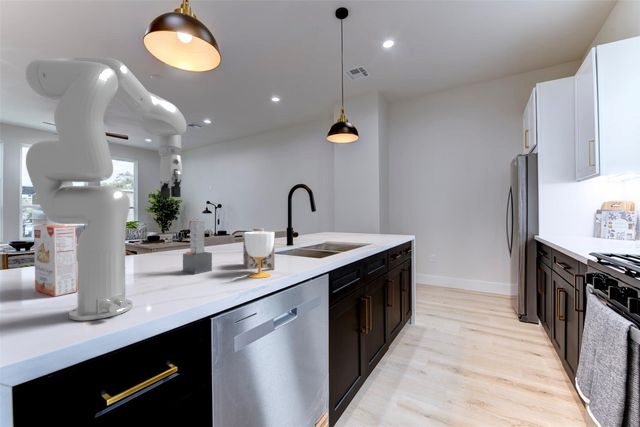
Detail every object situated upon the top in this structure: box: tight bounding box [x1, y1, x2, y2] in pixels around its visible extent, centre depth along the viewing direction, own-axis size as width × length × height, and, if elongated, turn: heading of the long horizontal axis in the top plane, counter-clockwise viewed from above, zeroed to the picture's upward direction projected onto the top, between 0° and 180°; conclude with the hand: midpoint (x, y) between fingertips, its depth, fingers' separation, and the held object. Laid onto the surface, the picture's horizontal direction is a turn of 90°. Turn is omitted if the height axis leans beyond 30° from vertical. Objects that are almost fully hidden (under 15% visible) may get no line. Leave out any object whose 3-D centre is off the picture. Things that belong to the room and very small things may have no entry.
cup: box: [243, 230, 276, 279], centre depth 110 cm, size 12×12×17 cm
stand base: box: [182, 251, 213, 275], centre depth 111 cm, size 12×12×10 cm
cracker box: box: [33, 224, 78, 298], centre depth 87 cm, size 14×6×21 cm, turn 62°
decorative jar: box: [242, 227, 276, 272], centre depth 123 cm, size 12×12×18 cm
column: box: [189, 220, 205, 255], centre depth 110 cm, size 4×4×20 cm
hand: (170, 197), depth 107 cm, fingers open, 9 cm apart
